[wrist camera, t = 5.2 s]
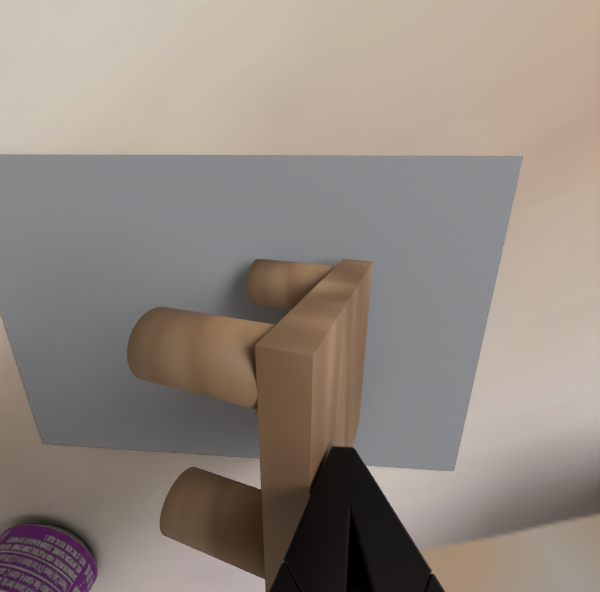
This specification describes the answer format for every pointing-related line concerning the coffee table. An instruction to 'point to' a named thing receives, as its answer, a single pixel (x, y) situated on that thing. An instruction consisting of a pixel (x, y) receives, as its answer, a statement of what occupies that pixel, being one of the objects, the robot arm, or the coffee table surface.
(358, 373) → the stool
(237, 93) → the coffee table surface
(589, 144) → the coffee table surface
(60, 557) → the beverage can
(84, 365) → the felt mat
